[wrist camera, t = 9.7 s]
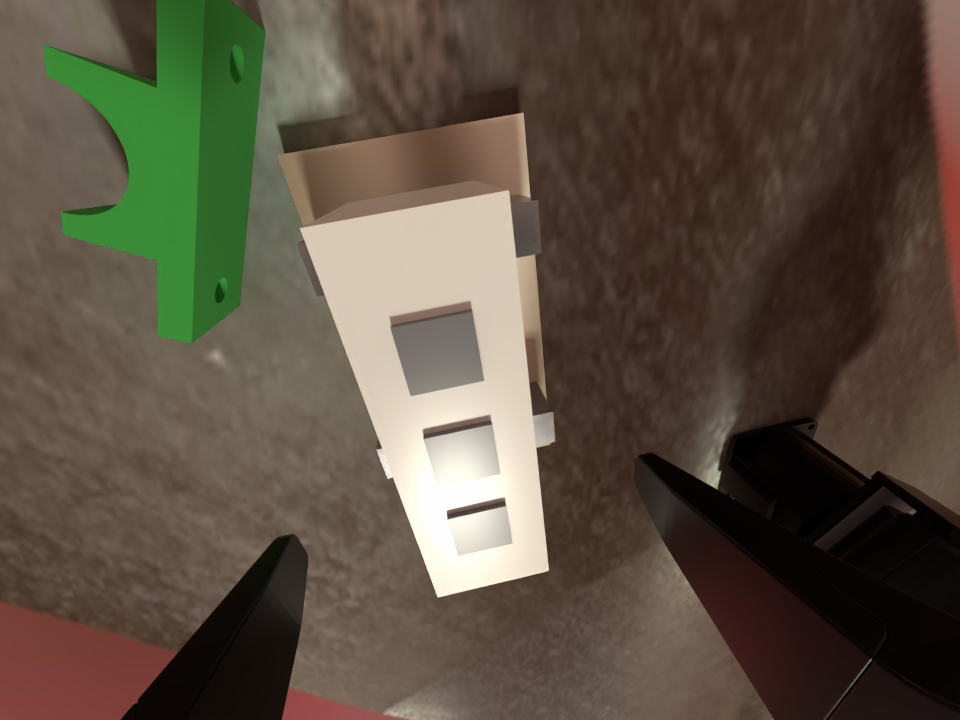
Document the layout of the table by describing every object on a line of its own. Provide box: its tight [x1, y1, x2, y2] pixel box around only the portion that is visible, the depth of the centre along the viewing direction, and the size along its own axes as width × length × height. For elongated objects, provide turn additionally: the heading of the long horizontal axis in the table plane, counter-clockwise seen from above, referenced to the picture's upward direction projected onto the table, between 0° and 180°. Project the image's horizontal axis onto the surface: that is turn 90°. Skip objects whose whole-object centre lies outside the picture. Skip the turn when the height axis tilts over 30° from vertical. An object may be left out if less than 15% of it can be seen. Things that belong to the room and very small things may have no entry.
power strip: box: [300, 180, 549, 597], centre depth 14 cm, size 4×14×6 cm, turn 9°
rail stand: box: [277, 113, 555, 478], centre depth 18 cm, size 10×18×4 cm, turn 9°
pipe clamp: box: [43, 0, 265, 344], centre depth 13 cm, size 11×4×5 cm, turn 160°
